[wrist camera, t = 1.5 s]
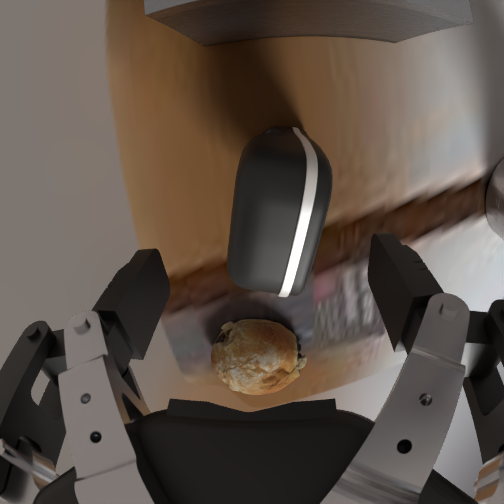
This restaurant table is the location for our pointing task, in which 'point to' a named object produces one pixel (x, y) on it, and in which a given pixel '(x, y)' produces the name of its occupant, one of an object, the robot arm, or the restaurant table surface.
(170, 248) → the restaurant table surface
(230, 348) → the bread roll
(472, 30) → the restaurant table surface
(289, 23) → the box
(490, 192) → the robot arm
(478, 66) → the restaurant table surface
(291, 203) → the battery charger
